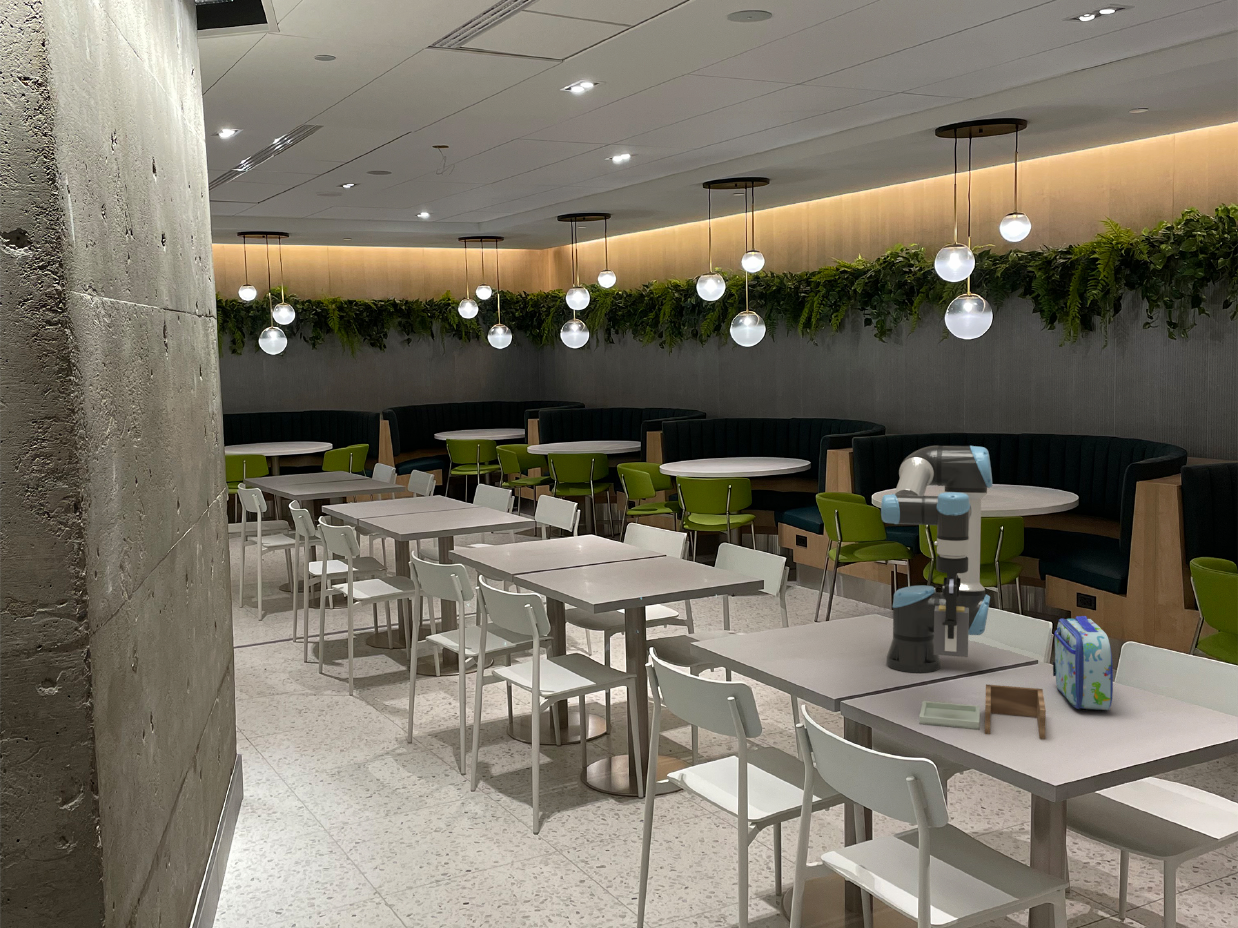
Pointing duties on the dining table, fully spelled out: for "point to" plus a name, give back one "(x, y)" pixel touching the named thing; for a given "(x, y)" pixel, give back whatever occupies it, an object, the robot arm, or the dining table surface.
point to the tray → (950, 715)
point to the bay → (1015, 704)
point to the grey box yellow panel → (962, 631)
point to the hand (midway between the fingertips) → (951, 647)
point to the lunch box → (1083, 664)
